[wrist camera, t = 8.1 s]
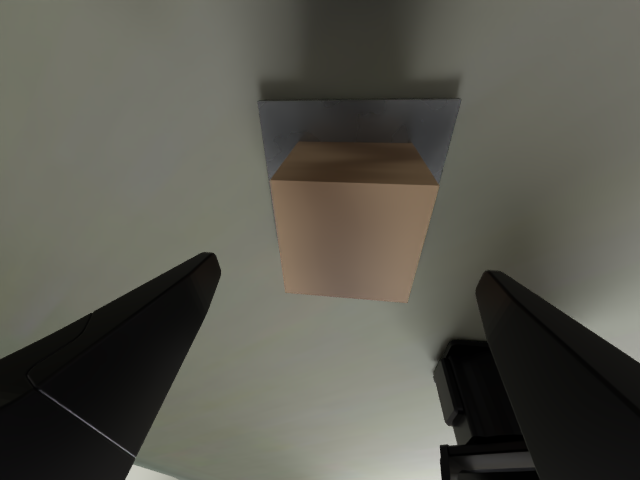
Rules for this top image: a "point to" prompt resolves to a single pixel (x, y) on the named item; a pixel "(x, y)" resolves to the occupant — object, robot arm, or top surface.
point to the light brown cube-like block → (352, 218)
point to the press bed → (359, 126)
